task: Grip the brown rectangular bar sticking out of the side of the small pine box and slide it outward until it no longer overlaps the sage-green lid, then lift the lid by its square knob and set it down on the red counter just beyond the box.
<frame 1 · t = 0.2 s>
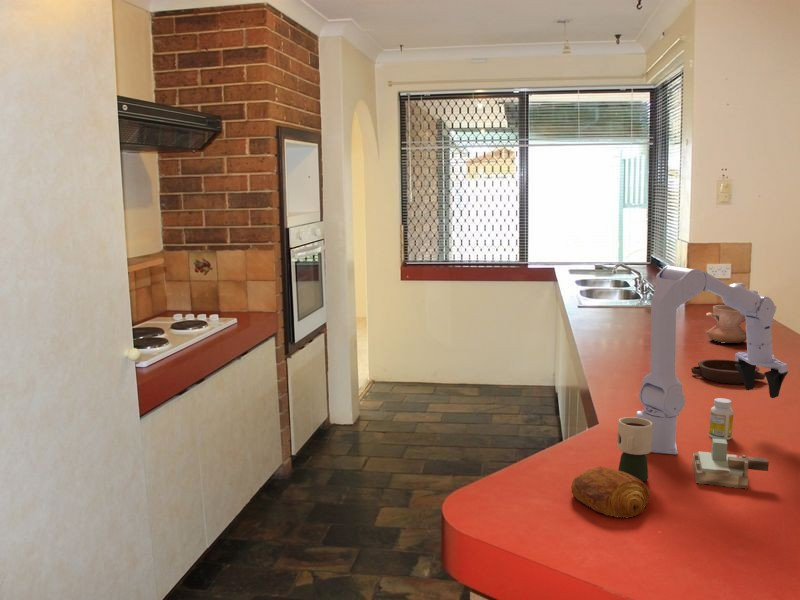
hand: (762, 392, 193), 11 cm above the counter, tool pointing down, fingers open, 7 cm apart
lid: (719, 465, 166), point 2 cm above the counter, touching box
brown rectangular bar: (747, 462, 161), point 5 cm above the counter, slide at 0.0 cm
character mug: (632, 480, 164), on the counter
croissant: (611, 505, 152), on the counter
supplement bottle: (720, 437, 191), on the counter
ceramic jug: (728, 342, 302), on the counter
box: (718, 475, 166), on the counter
dish: (727, 380, 247), on the counter
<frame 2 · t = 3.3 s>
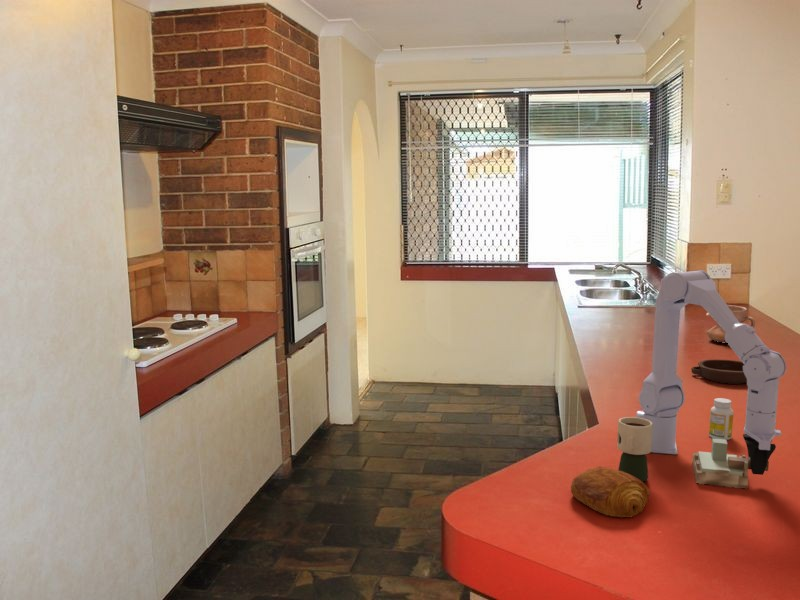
hand: (756, 471, 161), 3 cm above the counter, tool pointing down, fingers closed on brown rectangular bar, 2 cm apart
brown rectangular bar: (747, 462, 161), point 5 cm above the counter, slide at 0.0 cm, touching gripper
everything else where it was.
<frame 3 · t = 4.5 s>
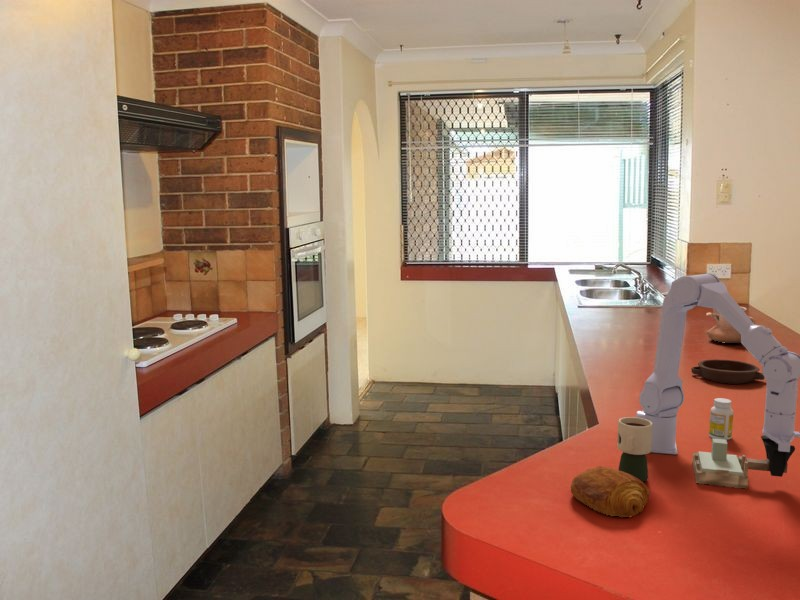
hand: (775, 473, 160), 3 cm above the counter, tool pointing down, fingers closed on brown rectangular bar, 2 cm apart
brown rectangular bar: (766, 464, 160), point 5 cm above the counter, slide at 3.6 cm, touching gripper
everything else where it was.
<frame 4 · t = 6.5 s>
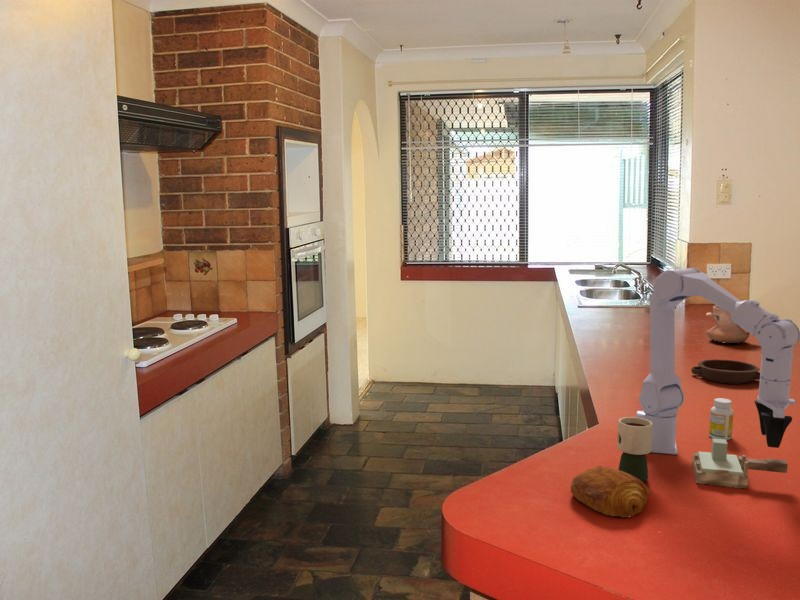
hand: (770, 440, 160), 10 cm above the counter, tool pointing down, fingers open, 7 cm apart
brown rectangular bar: (766, 464, 160), point 5 cm above the counter, slide at 3.6 cm
everything else where it was.
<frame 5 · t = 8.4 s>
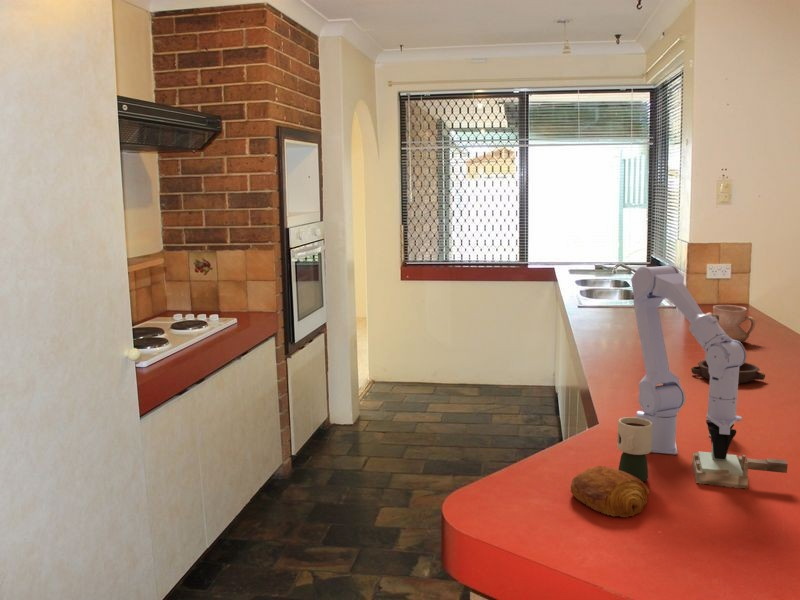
hand: (718, 455, 167), 4 cm above the counter, tool pointing down, fingers closed on lid, 3 cm apart
lid: (719, 465, 166), point 2 cm above the counter, touching box, gripper
everything else where it was.
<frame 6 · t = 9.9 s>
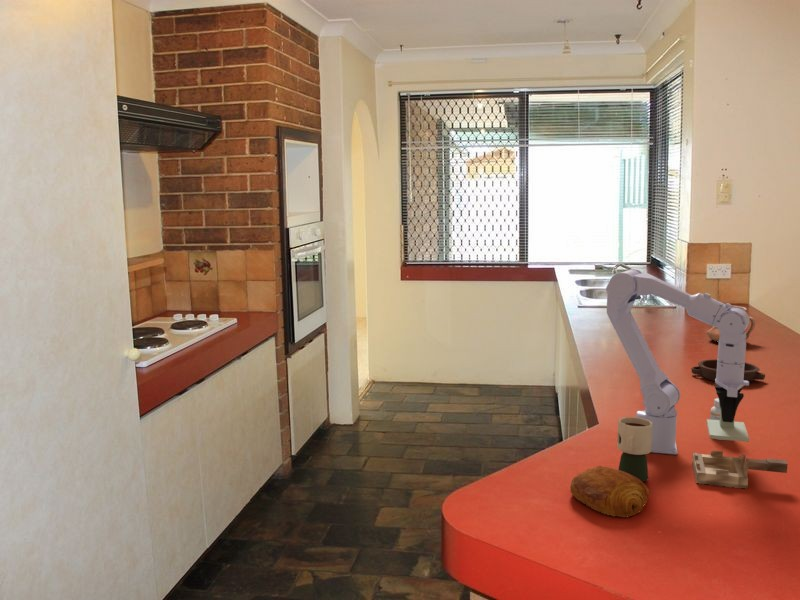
hand: (726, 419, 174), 10 cm above the counter, tool pointing down, fingers closed on lid, 3 cm apart
lid: (727, 431, 172), point 8 cm above the counter, touching gripper
everything else where it was.
when the fingers open (3 cm above the counter, at t = 11.8 s): lid stays where it is, on the counter.
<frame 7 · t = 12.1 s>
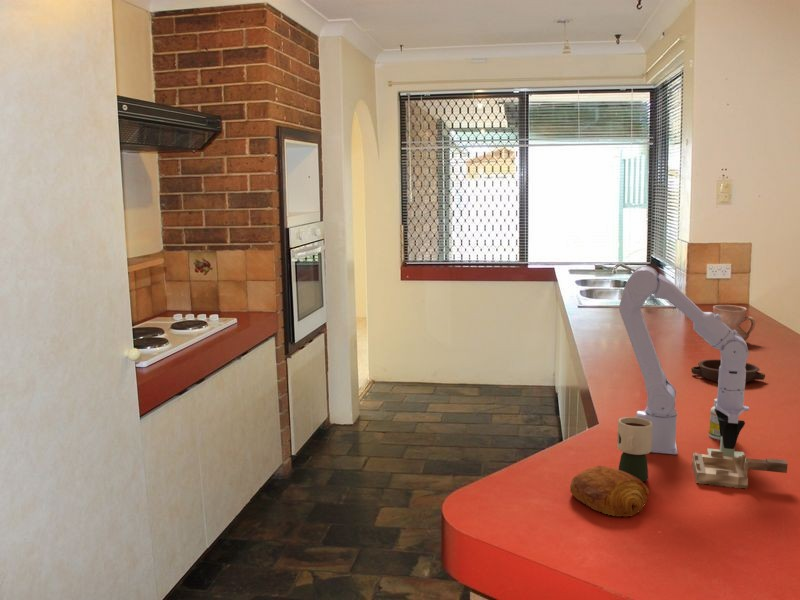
hand: (727, 443, 178), 3 cm above the counter, tool pointing down, fingers open, 6 cm apart
lid: (727, 461, 176), on the counter
everything else where it was.
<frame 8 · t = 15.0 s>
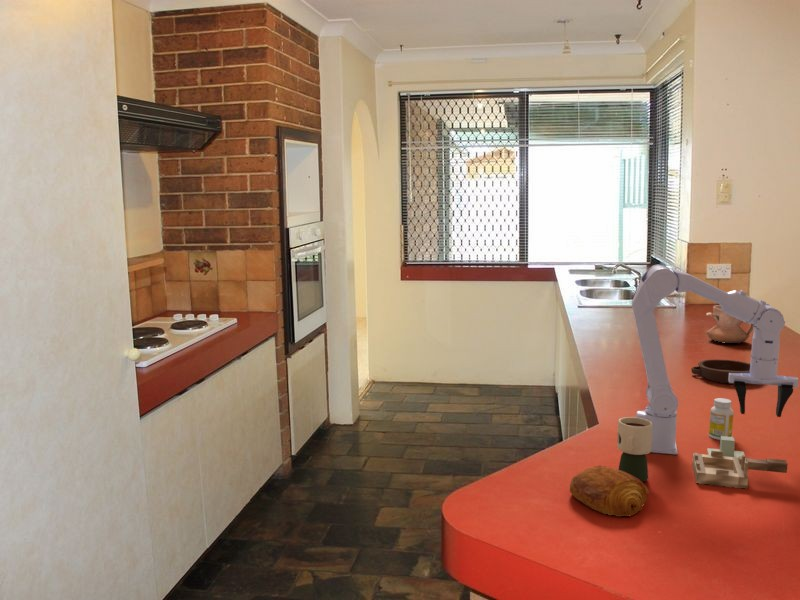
hand: (760, 414, 177), 10 cm above the counter, tool pointing down, fingers open, 7 cm apart
nothing on the counter moved.
at the end: brown rectangular bar slide at 3.6 cm; lid inside the target area (1.2 cm from its centre), on the counter; lid tilted 0° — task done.
